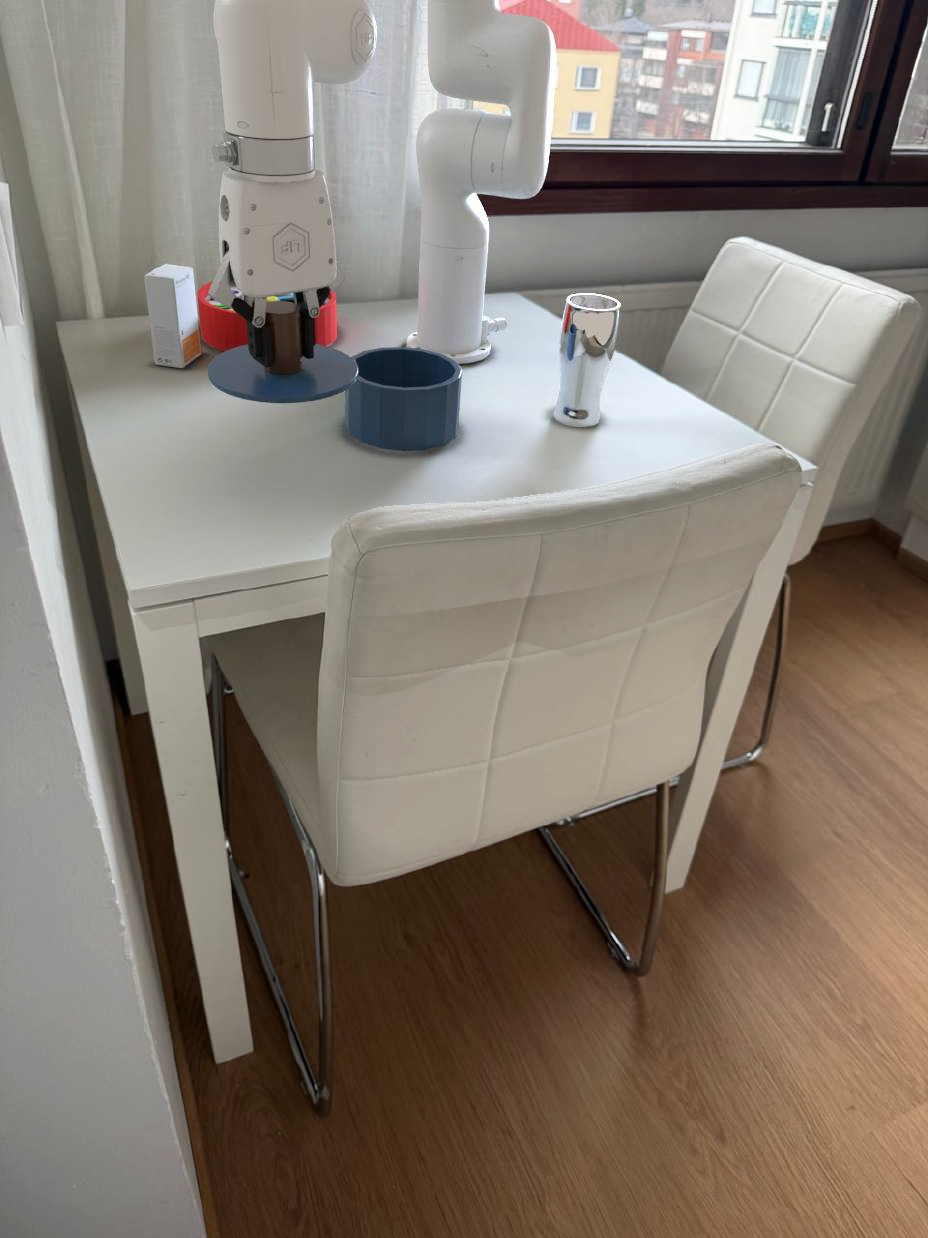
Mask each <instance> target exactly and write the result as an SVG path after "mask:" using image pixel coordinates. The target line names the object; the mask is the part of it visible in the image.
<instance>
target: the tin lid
mask: <svg viewBox="0 0 928 1238" xmlns="http://www.w3.org/2000/svg"><path fill="white" fill-rule="evenodd" d="M265 324H266V325H268V326H269V327H270V328H271V337H272V352H273V365H272V366H271V367H267V368H266V367H264V366H263V365H261V364H260V363H259V362H257V361H256V360H254V359H253V357H252V356H251V355H250V353H249V349H248V345H243V346H239V347H236V348H233V349H230V350H227V351H225V352H224V351H222V352H221V353H219V354H217V355H216V356H215V357H214V358H212V359H211V361H210V362H209V363H208V365H207V377H208V380H209V382H210V383H211V384H212V386H214V387H215V389H218V390H219V391H220V392H223V393H224V394H226V395H229V396H232V397H234V398H237V399H242V400H246V401H252V402H256V403H257V402H258V403H266V404H298V403H308V402H315V401H320V400H325V399H327V398H331V397H335V396H337V395H339V394H342V393H345V390H347V389H349V388H350V387H351V386H352V385H353V384H354V383H355V382H356V380H357V378H358V366H357V364H356V362H355V361H354V360H353V359H352V358H351V357H352V356H350V355H348V354H346V353H345V352H343V351H341V350H339V349H336V348H334V347H330V346H328V347H327V346H323V345H318V344H315V346H314V358H311V359H307V358H305V357H303V356H302V334H301V312H300V306H299V305H297V304H295V303H292V302H286V301H274V302H268V303H267V305H266V316H265Z"/></svg>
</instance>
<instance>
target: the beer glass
mask: <svg viewBox="0 0 928 1238" xmlns="http://www.w3.org/2000/svg"><path fill="white" fill-rule="evenodd" d="M620 308H621V303H620V302H619V301H618V300H617V299H615V298H613V297H610V296H607V295H602V294H596V293H576V294H571V295H568V296H567V297H566V299H565V306H564V310H563V315H562V320H561V326H560V332H559V342H558V361H559V362H558V363H559V393H558V397H557V400H556V403H555V406H554V409H553V416H552V417H553V418H554V420H556V421H557V422H558V423H560V424H562V425H565V426H568V427H573V428H590V427H593V426H596V425H598V424H599V423H600V420H601V396H602V395H601V394H602V390H603V387H604V383H605V380H606V377H607V375H608V372H609V368H610V366H611V362H612V359H613V357H614V353H615V349H616V344H617V339H618V332H619V323H620V322H619V321H620Z"/></svg>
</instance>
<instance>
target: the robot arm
mask: <svg viewBox="0 0 928 1238" xmlns="http://www.w3.org/2000/svg"><path fill="white" fill-rule="evenodd" d="M212 15H213V16H212V21H213V33H214V37H215V40H216V43H217V50H218V61H219V72H220V83H221V84H220V85H221V95H222V96H221V97H222V108H223V121H224V129H225V131H224V132H223V134H222V135H223V141H220V143H214V144H212V148H211V149H212V150H211V151H212V156H213V160H214V161H215V162H223V163H225V166H227V167H228V170H225V171H222V175H221V182H220V190H219V203H218V248H219V249H218V250H219V262H220V263H219V267H218V269H217V270H216V273H215V276H214V277H213V280H212V281H213V282H212V281H211V282H212V284H211V286H210V289H209V291H208V294H209V296H210V297H211V298H212V299H214V300H215V301H217V302H219V303H221V304H223V305H225V306H227V307H229V308H231V309H233V310H234V311H235V312H236V313H237V314H239V315H240V316H241V317H242V318H243V319H245V320H246V324H247V337H248V349H249V353H250V355H251V356H252V357H253V359H254V360H256V361H257V362H259V363H260V364H261V365H263V366H264V367H266V368H267V367H271V366H272V365H273V352H272V337H271V328H270V327H269V326H268V325H266V324H265V316H266V305H267V297H270V296H277V295H283V294H290V293H293V296H294V301H295V304H297V305H299V306H300V312H301V334H302V356H303V357H305V358H307V359H311V358H314V346H315V344H316V339H315V318H316V317H318V316H319V314H320V307H321V306H322V305H323V303H324V302H325V301H326V299H327V298H328V296H329V295H330V292H331V291H333V290H334V291H335V289H337V288H338V287H339V286H340V285H341V284H342V283H343V282H344V281H345V277H346V276H345V274H344V272H343V271H342V269H341V266H340V265H339V264H338V262H337V249H336V237H335V236H336V235H335V227H334V218H333V212H332V206H331V199H330V196H329V189H328V186H327V181H326V178H325V177H326V176H325V174H324V172H323V171H321V170H318V169H316V159H315V158H316V157H315V155H316V154H315V126H314V125H315V123H314V122H315V121H314V95H313V94H314V91H313V84H314V83H320V84H328V85H329V84H330V85H345V84H349V83H351V82H354V81H355V80H357V79H359V78H360V77H361V76H362V75H364V73H365V72H366V71H367V70H368V69H369V67H370V66H371V64H372V62H373V60H374V57H375V53H376V50H377V43H378V29H377V22H376V19H375V15H374V12H373V10H372V8H371V6H370V4H369V3H368V2H367V0H215V1H214V6H213V13H212ZM556 51H557V50H556V43H555V38H554V34H553V32H552V29H551V28H550V26H549V25H548V24H547V23H546V22H545V21H544V20H542V19H540V18H538V17H535V16H533V15H525V14H516V13H505V12H502V10H501V9H500V5H499V0H427V66H428V75H429V80H430V83H431V86H432V87H433V88H434V90H435V91H436V92H438V93H439V94H441V95H443V96H445V97H449V98H454V99H460V100H465V101H472V102H481V103H489V104H495V105H504V106H507V107H508V110H509V112H510V115H508V114H500V113H494V112H490V111H489V112H488V111H482V110H475V109H474V110H473V109H466V108H455V107H454V108H453V107H450V108H441V109H437V110H434V111H432V112H430V113H429V114H427V116H425V117H424V119H423V120H422V121H421V123H420V124H419V127H418V130H417V134H416V141H415V142H416V143H415V149H416V150H415V152H416V163H417V170H418V180H419V188H420V189H419V191H420V235H419V237H420V238H419V263H418V264H419V265H418V289H417V290H418V291H417V293H418V294H417V320H416V321H417V322H416V331H414V332H412V333H410V334H409V335H408V336H407V337H406V338H405V339H406V340H405V347H408V348H416V349H424V350H429V351H432V352H436V353H440V354H443V355H445V356H447V357H449V358H451V359H452V360H454V361H456V362H457V363H458V365H464V364H471V363H476V362H479V361H483V360H484V359H486V358H488V356H489V355H490V354H491V347H492V345H491V342H490V341H489V340H488V339H487V337H489V336H490V335H491V333H498V332H503V331H505V330H506V329H507V327H508V323H507V320H506V318H505V317H497V318H493V319H490V318H489V316H488V315H484V306H485V305H484V303H485V291H486V279H487V267H488V266H487V264H488V254H489V253H488V252H489V242H490V241H489V240H490V225H489V221H488V220H489V219H488V217H487V213H486V211H485V210H484V207H483V205H482V203H481V201H480V199H479V197H478V195H488V196H494V197H501V198H507V199H516V200H528V199H531V198H533V197H535V196H536V195H538V194H539V192H541V191H540V190H541V189H542V188H543V185H544V183H545V180H546V176H547V172H548V167H549V156H550V147H551V133H552V121H553V110H554V109H553V108H554V96H555V95H554V94H555V86H556V85H555V83H556V67H557V52H556ZM232 285H233V286H237V288H238V290H239V291H241V292H242V296H241V298H239V297H238V296H236V295H234V294H232V293H231V286H232Z"/></svg>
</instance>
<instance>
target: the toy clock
mask: <svg viewBox="0 0 928 1238" xmlns="http://www.w3.org/2000/svg"><path fill="white" fill-rule="evenodd" d="M212 282H213V280H212V281H209V282H207V283H204V285H202V286H201V287H200V288H198V289H197V293H196V299H197V305H198V306H197V309H198V320H199V330H200V337H201V339H202V340H203V341H204V343H206V344H207V345H208V346H210V347H212V348H214V349H216V350H219V351H221V352H225V351H227V350H230V349H233V348H236V347H239V346H243V345H248V337H247V324H246V320H245V319H243V318H242V317H241V316H240V315H239V314H237V313H236V312H235V311H234V310H233V309H231V308H229V307H227V306H225V305H223V304H221V303H219V302H217V301H215V300H214V299H212V298H211V297H210V296H209V294H208V291H209V289H210V286H211V284H212ZM231 293H232V294H234V295H236V296H238V297H239V298H241V296H242V292H241V291H239V290H238V288H237V286H233V285H232V286H231ZM274 301H286V302H292V303H295V301H294V296H293V293H290V294H283V295H277V296H270V297H267V303H268V302H274ZM337 307H338V306H337V293H336V291H335V289H334V290H333V291H331V292H330V295H329V296H328V298H327V299H326V301H325V302H324V303H323V305H322V306H321V307H320V314H319V316H318V317H316V318H315V339H316V344H318V345H323V346H327V347H330V346H331V345H333V344H334V343H335V342H336V340H337V338H338V313H337Z"/></svg>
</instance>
